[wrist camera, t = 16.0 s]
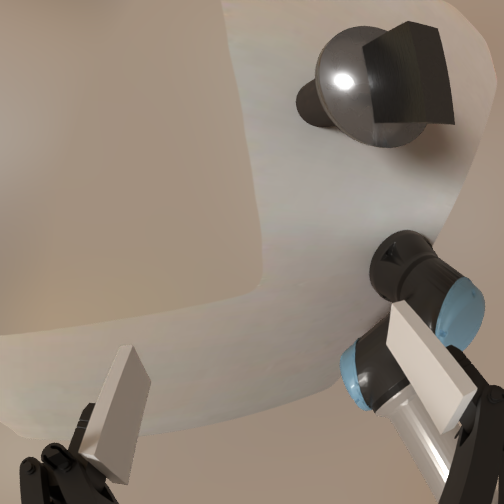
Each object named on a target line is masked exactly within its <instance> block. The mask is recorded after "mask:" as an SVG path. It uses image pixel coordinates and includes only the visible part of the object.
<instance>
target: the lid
mask: <svg viewBox="0 0 504 504" xmlns="http://www.w3.org/2000/svg"><path fill="white" fill-rule="evenodd" d="M315 83H316V89H317V93H318V96H319V99H320V102H321V104H322V106H323V108H324V110H325V112H326V113H327V115H328V116H329V118H330V119H331V120H332V122H333V123H334V124H335V125H336V126H337V127H338V128H339V129H340V130H341V131H342V132H344V133H345V134H346V135H347V136H349V137H351V138H352V139H354V140H356V141H358V142H360V143H363V144H366V145H369V146H375V147H382V148H393V147H399V146H403V145H405V144H407V143H410V142H411V141H413V140H414V139H415V138H416V137H418V136H419V135H420V134H421V132H422V131H423V130H424V128H425V127H426V125H427V124H452V125H455V121H454V111H453V103H452V95H451V88H450V82H449V76H448V71H447V65H446V61H445V56H444V51H443V47H442V43H441V39H440V35H439V31H438V28H434V27H431V26H427V25H423V24H419V23H415V22H411V21H407V22H405V23H403V24H401V25H399V26H397V27H395V28H393V29H392V30H390V31H386V30H383V29H380V28H376V27H370V26H358V27H353V28H349V29H346V30H344V31H342V32H340V33H339V34H337V35H336V36H335V37H334V38H333V39H331V40H330V41H329V42H328V43H327V44H326V45H325V47H324V48H323V49H322V51H321V53H320V55H319V57H318V60H317V64H316V69H315Z"/></svg>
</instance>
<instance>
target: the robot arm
mask: <svg viewBox="0 0 504 504" xmlns="http://www.w3.org/2000/svg"><path fill="white" fill-rule="evenodd" d="M370 281H371V284H372V286H373V288H374V289H375V290H376V292H377V293H378V294H379V295H380V296H381V297H382V298H384V299H385V300H387V301H390V302H392V307H391V312H390V313H389V314H388V315H387V316H386V317H385V318H383V319H382V320H381V321H380V322H379V323H378V324H376V325H375V326H374V327H373V328H372V329H370V330H369V331H368V332H367V333H365V334H364V335H363V336H362V337H360V338H358V339H357V340H356V341H355V342H354V344H353V345H351V346H350V347H349V348H348V349H347V350H346V351H345V352H344V353H343V354H342V356H341V359H340V371H341V375H342V379H343V382H344V384H345V386H346V389H347V390H348V392H349V394H350V396H351V397H352V399H354V400H355V403H356V404H357V405H358V407H359V408H361V409H362V410H365V411H368V410H372V409H373V411H374V413H375V414H376V416H380V417H386V418H389V419H390V421H391V422H392V424H393V425H394V427H395V429H396V431H397V432H398V434H399V436H400V438H401V439H402V441H403V443H404V444H405V446H406V448H407V450H408V451H409V453H410V455H411V456H412V458H413V460H414V462H415V463H416V465H417V467H418V469H419V470H420V472H421V474H422V476H423V477H424V479H425V481H426V483H427V484H428V486H429V488H430V490H431V492H432V494H433V495H434V497H435V499H436V501H437V503H438V504H504V389H502V388H501V387H499V386H496V385H489V384H488V383H487V382H486V380H485V379H484V378H483V376H482V375H481V374H480V373H479V372H478V370H477V369H476V368H475V367H474V365H473V364H471V362H470V360H469V359H468V358H466V356H465V354H464V353H463V352H462V351H463V350H464V349H466V348H467V347H468V345H469V344H470V343H471V342H472V340H473V339H474V337H475V336H476V334H477V332H478V330H479V328H480V326H481V323H482V320H483V317H484V311H485V301H484V297H483V294H482V292H481V291H480V290H479V289H478V288H477V287H476V286H475V285H474V284H472V282H471V280H469V278H467V277H464V276H463V275H462V274H460V273H459V272H457V271H456V270H455V269H454V268H452V267H451V266H449V265H448V264H447V263H445V262H444V261H442V260H441V259H440V258H438V256H437V254H436V253H435V251H434V250H433V248H432V246H431V244H430V243H429V241H428V240H427V239H426V238H425V237H423V236H422V235H420V234H418V233H417V232H414V231H410V230H404V231H400V232H397V233H394V234H393V235H391V236H389V237H388V238H387V239H386V240H384V241H383V242H382V244H381V245H380V246H379V247H378V249H377V250H376V252H375V254H374V256H373V258H372V261H371V265H370ZM150 385H151V380H150V378H149V376H148V374H147V372H146V370H145V369H144V367H143V365H142V363H141V361H140V359H139V356H138V354H137V352H136V350H135V348H134V346H133V345H122V346H120V347H119V349H118V352H117V354H116V356H115V358H114V361H113V363H112V365H111V368H110V370H109V372H108V375H107V377H106V380H105V382H104V384H103V387H102V389H101V392H100V394H99V397H98V399H97V402H96V403H89V404H88V405H87V406H86V408H85V409H84V410H83V412H82V414H81V417H80V419H79V420H80V421H79V422H78V424H77V428H76V429H75V432H74V435H73V437H72V440H71V443H70V445H69V449H68V450H67V449H66V448H65V447H64V446H63V445H61V444H59V443H51V444H49V445H47V446H46V447H45V449H44V450H43V451H42V454H41V460H42V462H44V463H40V462H39V461H38V460H37V459H36V458H34V457H28V458H26V459H24V460H23V461H22V463H21V465H20V491H21V502H22V504H119V503H118V502H117V500H116V499H115V497H114V495H113V494H112V492H111V490H110V489H109V487H108V486H107V484H106V483H105V481H106V478H108V479H109V480H110V481H112V482H113V483H118V484H124V485H128V482H129V477H130V471H131V466H132V462H133V457H134V452H135V447H136V443H137V438H138V434H139V430H140V425H141V421H142V417H143V413H144V409H145V405H146V401H147V397H148V393H149V389H150ZM459 421H460V423H461V424H462V426H461V428H460V426H459V424H458V422H459ZM498 475H499V490H498V491H497V490H496V484H497V480H498Z"/></svg>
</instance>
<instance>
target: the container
mask: <svg viewBox="0 0 504 504" xmlns="http://www.w3.org/2000/svg"><path fill="white" fill-rule="evenodd" d="M296 106H297V110H298V113H299V114H300V116H301V117H302V118H303V120H305V121H306V122H307V123H309V124H311V125H313V126H317V127H328V126H335V124H334V123H333V122H332V120H331V119H330V118H329V116H328V115H327V113H326V112H325V110H324V108H323V106H322V104H321V102H320V99H319V96H318V93H317V89H316V83H315V79H314V80H312V81H310V82H309V83H307V84H306V85H305V86H303V87H302V88H301V89H300V91H299V93H298V95H297V98H296Z"/></svg>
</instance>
